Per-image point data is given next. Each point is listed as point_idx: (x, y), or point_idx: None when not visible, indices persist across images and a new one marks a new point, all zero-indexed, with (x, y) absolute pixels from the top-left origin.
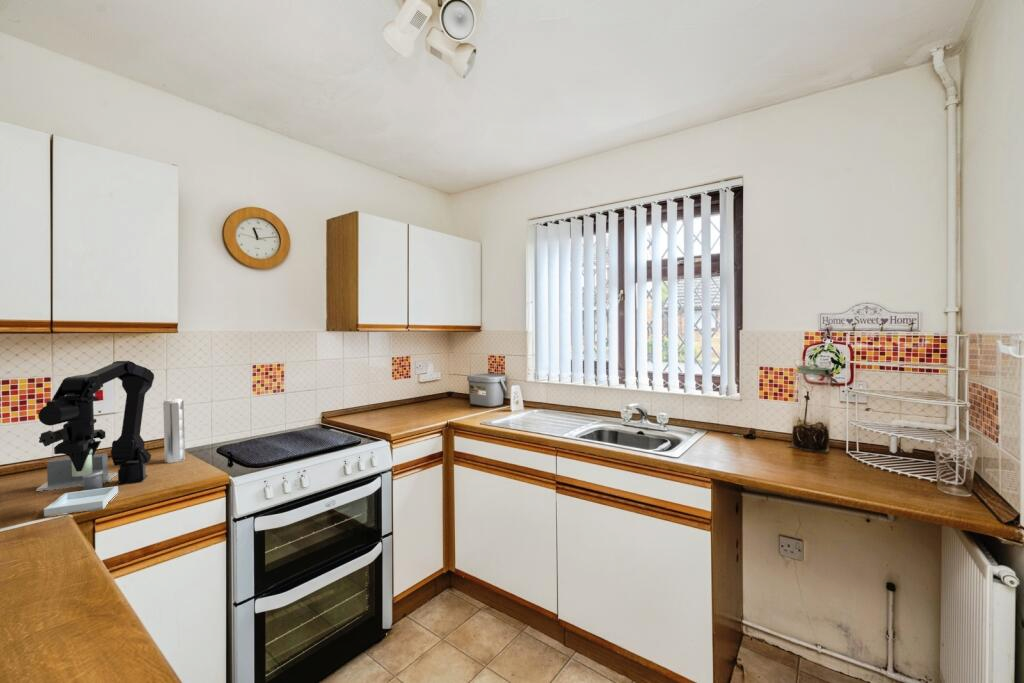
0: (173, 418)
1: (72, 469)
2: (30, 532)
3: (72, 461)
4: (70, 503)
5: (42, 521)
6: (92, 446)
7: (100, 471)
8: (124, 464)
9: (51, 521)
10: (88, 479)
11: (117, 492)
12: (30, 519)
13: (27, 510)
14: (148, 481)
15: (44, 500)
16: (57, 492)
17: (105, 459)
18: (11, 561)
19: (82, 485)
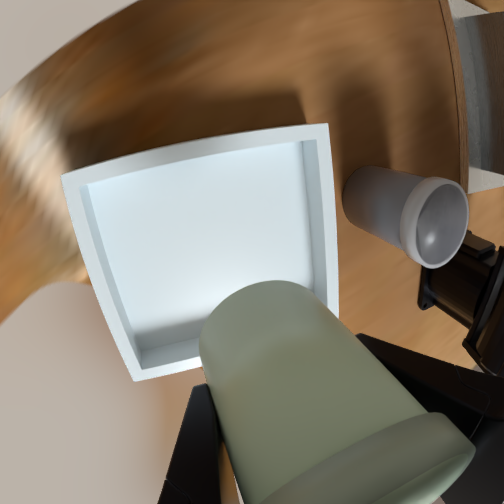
0: None
1: (231, 348)
2: None
3: (165, 488)
4: (228, 187)
5: (33, 194)
6: (462, 501)
7: (437, 261)
8: (489, 284)
9: (27, 236)
10: (394, 218)
11: None
12: (73, 114)
13: (223, 19)
14: (412, 324)
15: (346, 33)
16: (422, 51)
17: None
18: None
19: (460, 114)
